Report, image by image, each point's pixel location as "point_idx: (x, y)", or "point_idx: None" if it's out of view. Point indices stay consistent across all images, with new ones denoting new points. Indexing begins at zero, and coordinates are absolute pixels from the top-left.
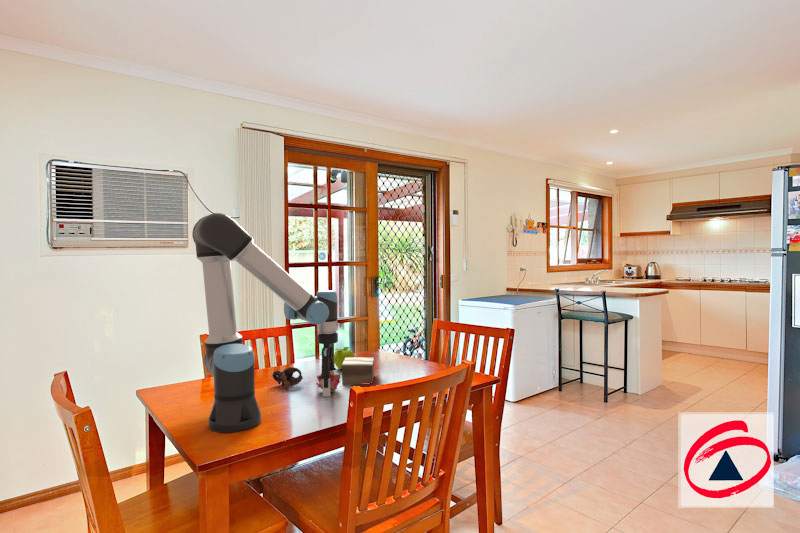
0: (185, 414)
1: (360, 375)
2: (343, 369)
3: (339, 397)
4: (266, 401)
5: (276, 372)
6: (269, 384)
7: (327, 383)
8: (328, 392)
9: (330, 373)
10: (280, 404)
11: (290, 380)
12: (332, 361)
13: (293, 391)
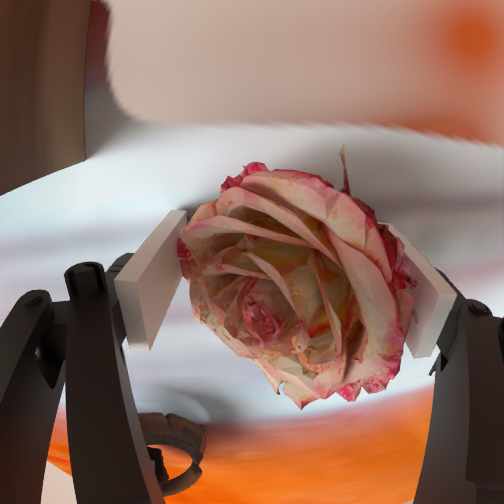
0: (385, 501)
1: (47, 11)
2: (3, 177)
3: (410, 155)
4: (359, 447)
5: None
6: None
7: (455, 289)
8: None
9: (306, 318)
10: (413, 409)
11: (201, 455)
12: (126, 410)
13: (239, 409)
